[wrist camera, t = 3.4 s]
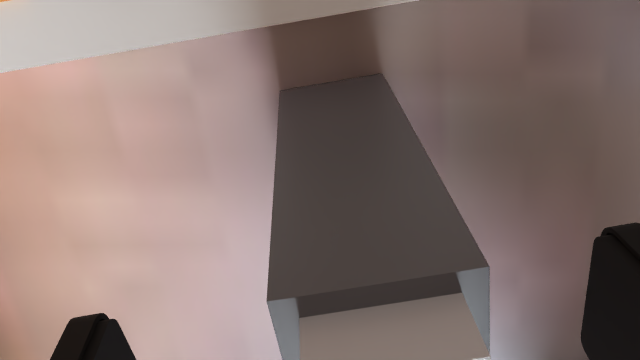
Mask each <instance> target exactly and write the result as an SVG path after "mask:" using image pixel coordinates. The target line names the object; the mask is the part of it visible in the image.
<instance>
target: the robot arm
mask: <svg viewBox="0 0 640 360" xmlns="http://www.w3.org/2000/svg"><path fill="white" fill-rule="evenodd" d="M581 342H582V345H583V348H584V351H585V353H586V354H587V356H588V357H589V359H590V360H640V224H639V223H631V224H625V225H619V226H613V227H608V228H605V229H604V230H603V231H602V234H601V236H600V237H596V238H595V240H594V243H593V250H592V257H591V265H590V272H589V279H588V286H587V294H586V301H585V308H584V316H583V323H582V330H581ZM50 360H136V358H135V356H134V354H133V352H132V350H131V348H130V346H129V344H128V342H127V340H126V338H125V336H124V334H123V332H122V330H121V328H120V326H119V324H118V322H117V320H115V319H109V318H108V317H107V315H105V314H104V313H99V314H93V315H87V316H81V317H75V318H73V319H71V320H70V321H69V322H68V324H67V326H66V328H65V330H64V332H63V334H62V336H61V338H60V340H59V342H58V344H57V346H56V348H55V350H54V352H53V354H52V357H51V359H50Z"/></svg>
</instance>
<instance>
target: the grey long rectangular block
mask: <svg viewBox="0 0 640 360" xmlns="http://www.w3.org/2000/svg"><path fill="white" fill-rule="evenodd" d="M267 304H268V308H269V312H270V316H271V319H272V323H273V327H274V330H275V334H276V338H277V341H278V345H279V349H280V352H281V356H282V360H491V357H490V301H489V265H488V263H487V261H486V259H485V258H484V256H483V254H482V252H481V250H480V249H479V247H478V245H477V243H476V241H475V240H474V238H473V236H472V234H471V232H470V231H469V229H468V227H467V225H466V223H465V222H464V220H463V218H462V216H461V214H460V213H459V211H458V209H457V207H456V205H455V204H454V202H453V200H452V198H451V196H450V195H449V193H448V191H447V189H446V187H445V186H444V184H443V182H442V180H441V178H440V177H439V175H438V173H437V171H436V169H435V168H434V166H433V164H432V162H431V160H430V158H429V157H428V155H427V153H426V151H425V149H424V148H423V146H422V144H421V142H420V140H419V139H418V137H417V135H416V133H415V131H414V130H413V128H412V126H411V124H410V122H409V121H408V119H407V117H406V115H405V113H404V112H403V110H402V108H401V106H400V104H399V103H398V101H397V99H396V97H395V95H394V94H393V92H392V90H391V88H390V86H389V85H388V83H387V81H386V79H385V77H384V76H383V74H376V75H371V76H365V77H359V78H353V79H347V80H341V81H335V82H329V83H323V84H318V85H312V86H306V87H300V88H294V89H288V90H282V91H280V96H279V112H278V128H277V144H276V161H275V177H274V193H273V209H272V225H271V241H270V257H269V273H268V289H267Z"/></svg>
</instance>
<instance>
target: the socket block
mask: <svg viewBox="0 0 640 360" xmlns="http://www.w3.org/2000/svg"><path fill="white" fill-rule="evenodd" d="M412 1H418V0H0V73H3V72H9V71H15V70H20V69H26V68H32V67H38V66H43V65H49V64H55V63H61V62H66V61H72V60H78V59H84V58H90V57H95V56H101V55H107V54H113V53H118V52H124V51H130V50H136V49H141V48H147V47H153V46H159V45H164V44H170V43H176V42H182V41H187V40H193V39H199V38H205V37H210V36H216V35H222V34H228V33H233V32H239V31H245V30H251V29H256V28H262V27H268V26H274V25H280V24H285V23H291V22H297V21H303V20H308V19H314V18H320V17H326V16H331V15H337V14H343V13H349V12H354V11H360V10H366V9H372V8H377V7H383V6H389V5H395V4H400V3H406V2H412Z"/></svg>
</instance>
